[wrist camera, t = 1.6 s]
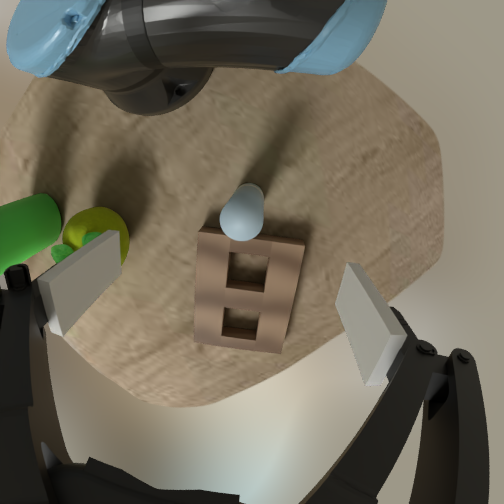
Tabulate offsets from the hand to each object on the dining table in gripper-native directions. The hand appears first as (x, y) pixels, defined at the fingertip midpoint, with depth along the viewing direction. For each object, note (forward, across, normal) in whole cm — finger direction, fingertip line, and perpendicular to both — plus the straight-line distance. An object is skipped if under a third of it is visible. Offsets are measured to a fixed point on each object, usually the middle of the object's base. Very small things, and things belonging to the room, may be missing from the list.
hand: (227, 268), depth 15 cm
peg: (+21, 0, 0) cm, 21 cm away
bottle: (+21, -33, -6) cm, 39 cm away
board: (+20, +1, -13) cm, 24 cm away
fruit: (+21, -19, -7) cm, 29 cm away
